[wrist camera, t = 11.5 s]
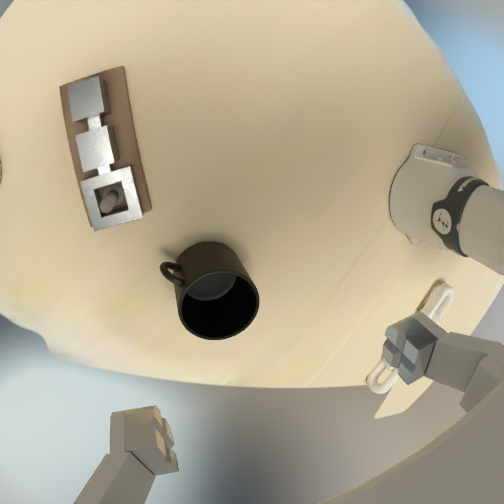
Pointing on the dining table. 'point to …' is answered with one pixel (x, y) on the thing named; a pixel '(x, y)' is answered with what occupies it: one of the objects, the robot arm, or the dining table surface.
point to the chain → (431, 309)
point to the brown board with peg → (125, 140)
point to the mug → (212, 291)
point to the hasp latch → (101, 154)
